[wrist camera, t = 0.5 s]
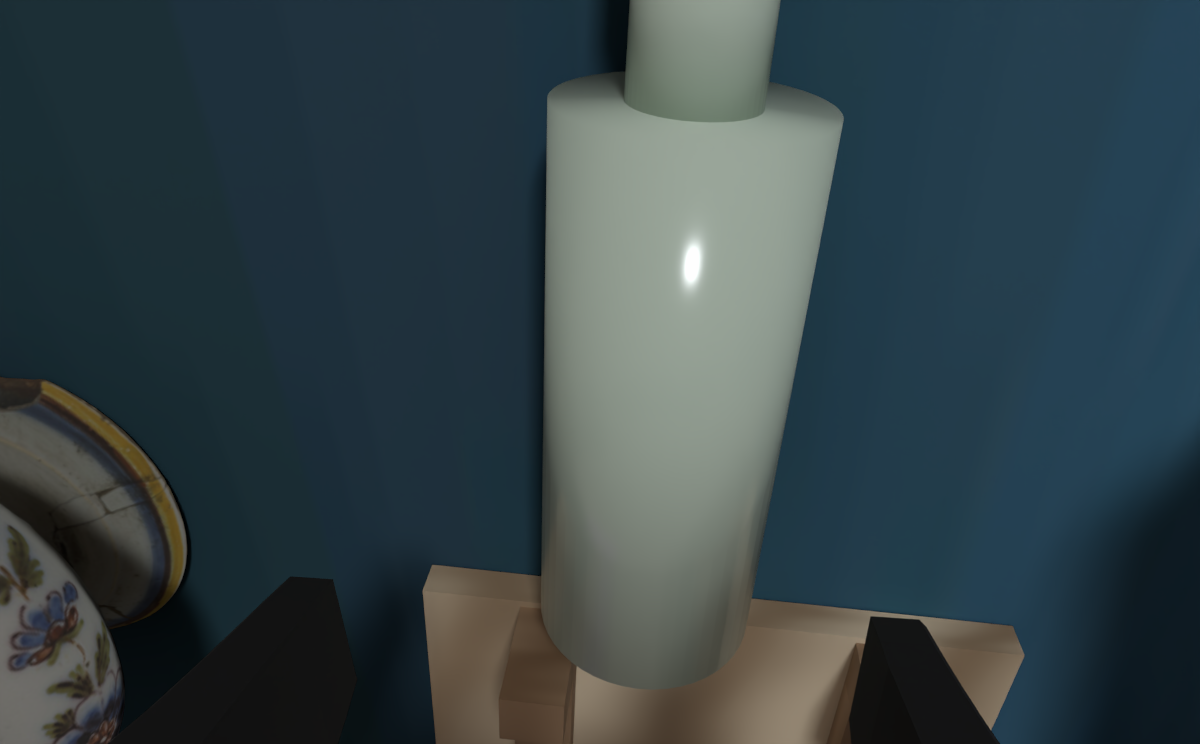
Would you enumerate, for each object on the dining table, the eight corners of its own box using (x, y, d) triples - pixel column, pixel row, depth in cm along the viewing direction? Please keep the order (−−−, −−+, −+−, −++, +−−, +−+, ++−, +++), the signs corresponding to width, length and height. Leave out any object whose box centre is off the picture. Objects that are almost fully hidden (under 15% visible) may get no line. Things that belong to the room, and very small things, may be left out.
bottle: (742, 544, 23) (751, 702, 19) (557, 524, 23) (523, 675, 19) (863, -136, 15) (927, -132, 10) (574, -151, 15) (522, -154, 11)
